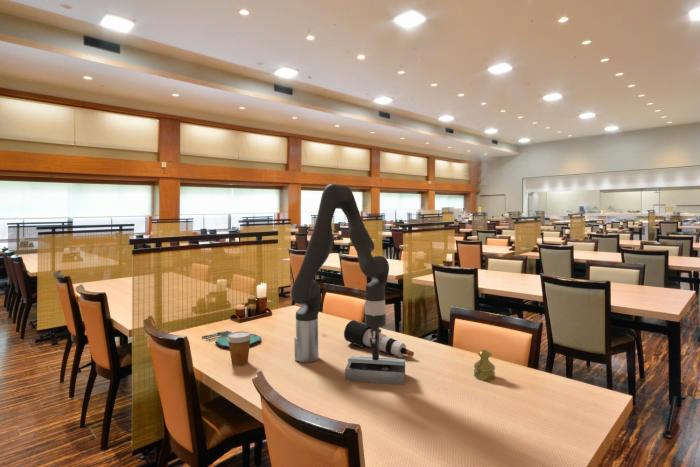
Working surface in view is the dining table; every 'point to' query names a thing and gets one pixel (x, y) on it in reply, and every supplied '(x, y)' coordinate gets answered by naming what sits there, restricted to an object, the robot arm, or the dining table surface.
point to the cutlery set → (223, 339)
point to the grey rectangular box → (374, 373)
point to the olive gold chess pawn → (484, 367)
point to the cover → (380, 361)
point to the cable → (361, 337)
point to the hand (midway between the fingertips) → (375, 359)
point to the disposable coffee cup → (239, 347)
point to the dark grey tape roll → (384, 368)
